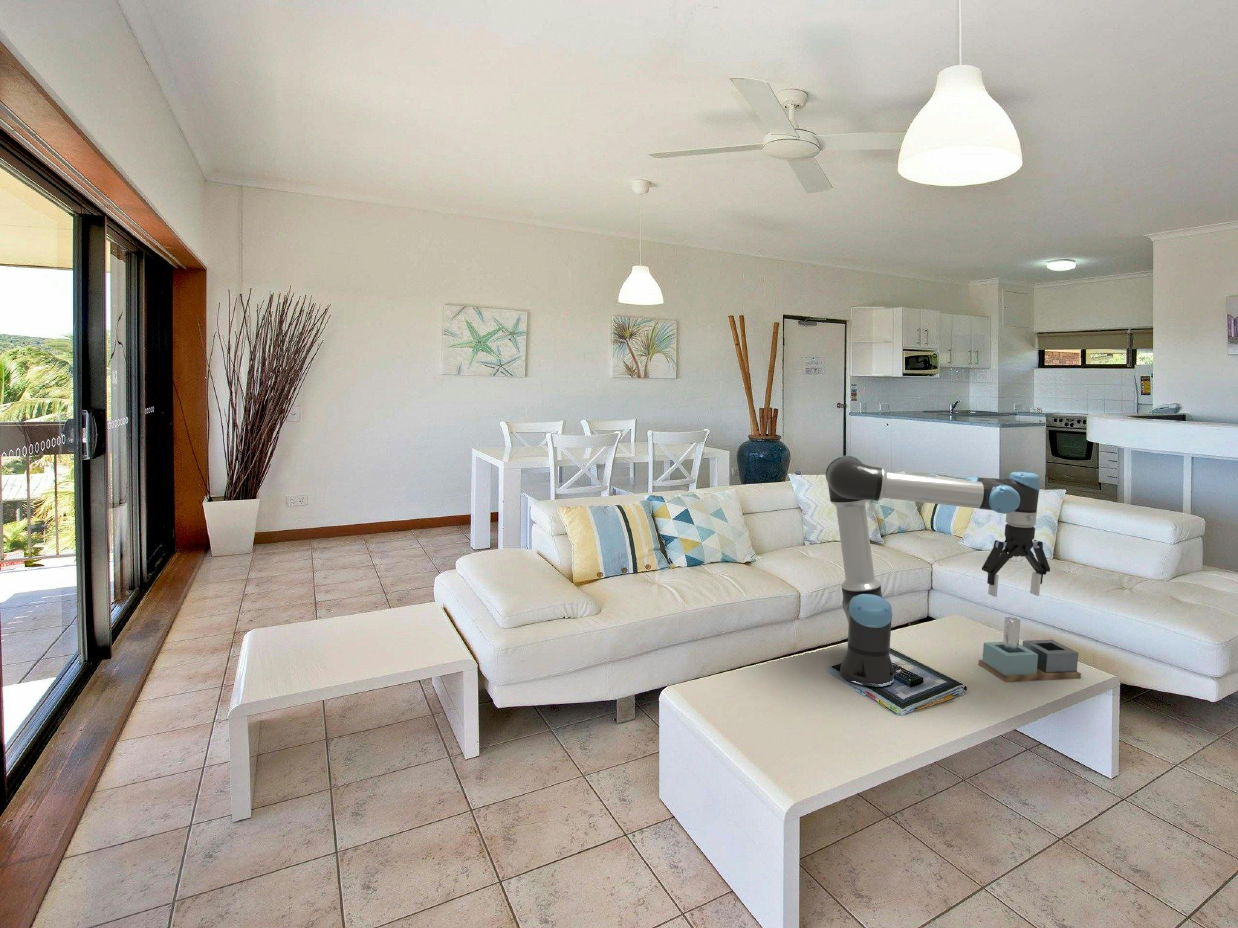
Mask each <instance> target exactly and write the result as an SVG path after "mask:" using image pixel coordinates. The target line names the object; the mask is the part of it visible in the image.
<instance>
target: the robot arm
mask: <svg viewBox="0 0 1238 928" xmlns="http://www.w3.org/2000/svg"><path fill="white" fill-rule="evenodd" d="M825 479H826V481H827V486H828V494H829V501H830V503H831V504H833V506H835V509H836V514H837V523H838V531H839V540H840V547H841V553H842V563H843V569H844V570H843V571H844V577H845V578H844V579H845V580H844V581H843V582H842V584H841V592H842V609H843V612H844V614H845V616H846V620H847V623H848V632H847V636H848V637H847V649H846V651H845V654H844V656H843V658H842V661H841V662H840V671H839V674H840V673H841V674H840V676H841V675H842V676H841V677H842V678H843V679H845V680H846V681H847V682H850V681H856V682H864V683H865V682H867V683H875V684H883V683H887V682H890V681H892V680H893V678H894V675H895V676H896V674H894V672H895V670H894V666H893V662H892V659H891V655H890V651H891V650H890V649H891V634H892V633H891V632H892V631H891V630H892V620H893V610H892V604H891V603H890V601H888V600H887V599H886V598H883V593H882V592H883V591H882V584H881V582H880V581H879V580H878V579H876V578H875V572H874V571H875V570H874V565H873V563H874V562H873V556H872V547H871V546H872V545H871V540H870V533H869V525H868V517H867V516H868V515H867V509H866V504H867V502H868V501H876V502H880V501H881V500H882V499H890V500H899V501H909V502H915V503H916V502H917V503H924V504H925V503H928V504H933V505H943V506H944V505H945V506H952V507H953V506H954V507H962V508H969V509H970V508H972V509H979V510H986V511H994V513H995V512H996V513H999V514H1002V515H1003V514H1004V515H1005V523H1006V524H1005V527H1004V537H1005V538H1004V539H1005V540H1004V541H1000V540H997V539H996V540H994V543H993V547H992V549H991V551H990V553H989V554H988V556H987V558H986V560H985V562H984V564H983V565H982V567H981V571H983V572H986V573H987V581H986V583H987V584H988V592H987V594H988V595H990V596H992V597H995V598H997V596H998V590H999V589H998V587H999V574H998V573H999V572H1000V570H1001V569H1002V568H1003V567H1004V565H1006V563H1007V562H1008V561H1009V560H1010V559H1013V557H1016V558H1017V557H1022V558H1024V557H1025V559H1026V561H1027V562H1028V563H1029V565H1030V566H1031V567H1032V569H1033V570H1034V571H1032V572H1031V579H1030V580H1031V581H1030V591H1029V593H1030V594H1031V595H1033V596H1036V597H1040V591H1041V585H1042V584H1043V578H1044V575H1045V576H1046V575H1047V573H1049V572H1051V567H1050V565H1049V562H1048V559H1047V556H1046V554H1045V550H1044V543H1043V541H1040V540H1037V539H1035V533H1036V528H1035V526H1036V523H1037V516H1038V515H1037V514H1038V504H1039V497H1040V490H1041V489H1040V486H1041V485H1040V483H1041V482H1040V481H1041V480H1040V476H1039V475H1038V474H1037V473H1035V472H1025V471H1013V472H1011V473H1010V474H1009V477H1008V478H995V477H994V478H992V477H979V476H975V477H973V476H972V477H967V478H965V479H964V480H963V479H955V478H946V477H936V476H929V475H927V476H926V475H919V474H917V475H916V474H908V473H900V472H899V473H898V472H890V471H889V472H888V471H886V469H884V468H883V467H876V466H871V465H869V464H868V465H867V464H865V463H863V462H862V461H861V460H860V459H858V458H857V457H856V456H855V457H854V456H851V455H841V456H838V457H836V458H834V459H833V460H831V461H830V462H829V464H828V465H827V467H826V470H825ZM1031 549H1033V551H1032V550H1031ZM1033 552H1034V553H1033ZM1035 556H1036V557H1035Z"/></svg>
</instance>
